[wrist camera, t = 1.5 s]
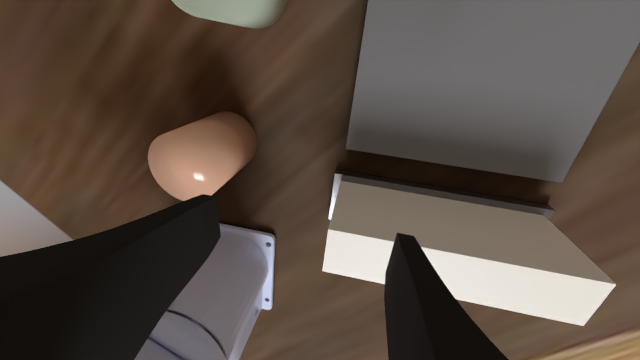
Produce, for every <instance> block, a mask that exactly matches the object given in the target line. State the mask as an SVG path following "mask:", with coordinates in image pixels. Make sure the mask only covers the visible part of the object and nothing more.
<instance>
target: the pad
mask: <svg viewBox="0 0 640 360" xmlns="http://www.w3.org/2000/svg"><path fill="white" fill-rule="evenodd" d="M639 42H640V0H368V5H367V12H366V18H365V25H364V31H363V38H362V44H361V51H360V57H359V64H358V71H357V77H356V84H355V90H354V97H353V103H352V110H351V116H350V123H349V130H348V136H347V143H346V149H349V150H356V151H362V152H368V153H375V154H381V155H387V156H394V157H400V158H407V159H413V160H419V161H426V162H432V163H439V164H445V165H451V166H458V167H464V168H470V169H477V170H483V171H490V172H496V173H502V174H509V175H515V176H521V177H528V178H534V179H541V180H547V181H553V182H560V183H562V181H563V180H564V178H565V176H566V174H567V172H568V170H569V169H570V167H571V165H572V163H573V161H574V160H575V158H576V156H577V154H578V152H579V151H580V149H581V147H582V145H583V143H584V142H585V140H586V138H587V136H588V134H589V133H590V131H591V129H592V127H593V125H594V123H595V122H596V120H597V118H598V116H599V114H600V113H601V111H602V109H603V107H604V105H605V104H606V102H607V100H608V98H609V96H610V95H611V93H612V91H613V89H614V87H615V85H616V84H617V82H618V80H619V78H620V76H621V75H622V73H623V71H624V69H625V67H626V66H627V64H628V62H629V60H630V58H631V57H632V55H633V53H634V51H635V49H636V48H637V46H638V44H639Z"/></svg>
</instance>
